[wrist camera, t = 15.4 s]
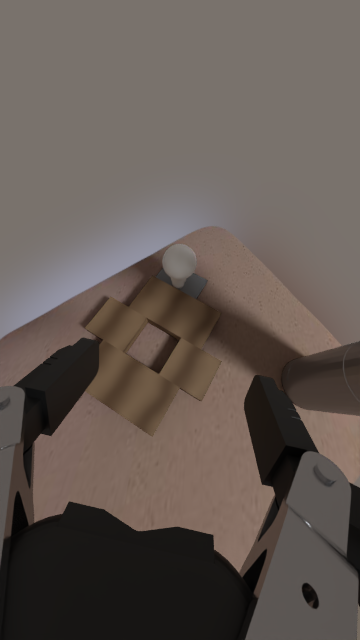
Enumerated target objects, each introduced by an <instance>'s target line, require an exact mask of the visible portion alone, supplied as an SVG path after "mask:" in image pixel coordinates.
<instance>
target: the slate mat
mask: <svg viewBox="0 0 360 640" xmlns="http://www.w3.org/2000/svg"><path fill="white" fill-rule="evenodd" d="M156 278H158V279H160V280H162V281H164V282H165V283H167V284H169V285H171V286H173V285H172V281H171V277H170V276H168V275H167V274H166V272H165V271H164V268H162V269H161V271H160V272H159V273H158V275H157V276H156ZM207 281H208V280H206V279H204V278H202V277H200V276H198V275H196V274H194V273H193V274H192V275H191V276H190V277H188V278H186V281H185V282H184V286H183V287H182V288H180V289H178V290H180V291H182V292H184V293H186V294H187V295H189V296H191V297H193V298H195V299H197V297H198V296H199V294H200V292H201V291H202V289H203V288H204V286H205V284H206V283H207ZM176 289H177V288H176Z"/></svg>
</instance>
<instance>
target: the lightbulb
mask: <svg viewBox="0 0 360 640" xmlns="http://www.w3.org/2000/svg"><path fill="white" fill-rule="evenodd" d="M162 265H163V268H164V271H165V272H166V274H167V275H168V276H170V277H171V281H172V285H173V287H175V288H177V289H180V288H182V287H183V286H184V282H185V281H186V278H188V277H190V276H191V275H192V274H193V272H194V271H195V269H196V265H197V258H196V255H195V253H194V251H193V250H192V249H191V248H190V247H188V246H187V245H184V244H175V245H173V246H171V247H169V248H168V249H167V250H166V251H165V253H164V255H163V259H162Z"/></svg>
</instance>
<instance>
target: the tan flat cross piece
mask: <svg viewBox="0 0 360 640" xmlns="http://www.w3.org/2000/svg"><path fill="white" fill-rule="evenodd" d="M220 315H221V313H220V312H219V311H217V310H215V309H213V308H211V307H209V306H208V305H206V304H204V303H202V302H200V301H198V300H197V299H195V298H193V297H191V296H189V295H187V294H186V293H184V292H182V291H180V290H178V289H176V288H175V287H173V286H171V285H169V284H167V283H165V282H164V281H162V280H160V279H158V278H156V277H154V276H153V275H152V277H151V278H150V279H149V281H148V282H147V283H146V285H145V286H144V287H143V289H142V290H141V291H140V292H139V294H138V295H137V296H136V298H135V299H134V300H133V302H132V303H131V304H130V306H129V307H128V306H126V305H124V304H122V303H121V302H119V301H117V300H116V299H114V298H112V297H110V298H109V299H108V301H107V302H106V303H105V304H104V305H103V307H102V308H101V309H100V310H99V312H98V313H97V314H96V315H95V316H94V318H93V319H92V320H91V321H90V322H89V324H88V325H87V326H86V327H85V329H87V330H88V331H89V332H90V333H92V334H94V335H95V336H97V337H98V338H100V339H102V340H103V341H102V342H101V344H100V345H99V369H98V373H97V375H96V377H95V378H94V380H93V381H92V382H91V384H90V385H89V386H88V388H87V389H86V390H85V391H86V392H87V393H89V394H90V395H92V396H93V397H95V398H96V399H98V400H99V401H100V402H102V403H103V404H105V405H106V406H108V407H109V408H111V409H112V410H114V411H115V412H117V413H118V414H120V415H121V416H123V417H124V418H125V419H127V420H128V421H130V422H131V423H133V424H134V425H136V426H137V427H139V428H140V429H142V430H143V431H145V432H146V433H148V434H149V435H150V436H152V437H153V435H154V433H155V431H156V429H157V428H158V426H159V424H160V422H161V420H162V419H163V417H164V415H165V413H166V412H167V410H168V408H169V406H170V404H171V403H172V401H173V399H174V397H175V395H176V394H177V392H178V390H179V388H180V389H182V390H183V391H185V392H186V393H188V394H190V395H191V396H193V397H194V398H196V399H198V400H199V401H202V400H203V398H204V396H205V394H206V392H207V390H208V388H209V386H210V384H211V382H212V380H213V378H214V376H215V374H216V372H217V370H218V368H219V366H220V364H221V362H222V361H220V360H218V359H217V358H215V357H213V356H211V355H210V354H208V353H206V352H205V351H203V350H201V349H202V347H203V345H204V343H205V342H206V340H207V338H208V336H209V335H210V333H211V331H212V329H213V327H214V326H215V324H216V322H217V320H218V318H219V317H220ZM148 322H149V323H150V324H152V325H154V326H155V327H157V328H159V329H160V330H162V331H164V332H166V333H167V334H169V335H171V336H172V337H174V338H176V339H178V340H179V342H178V344H177V346H176V347H175V349H174V350H173V352H172V354H171V355H170V357H169V359H168V360H167V362H166V364H165V365H164V367H163V368H162V370H161V372H160V373H159V374H157V373H156V372H154V371H153V370H151V369H149V368H148V367H146V366H145V365H143V364H141V363H140V362H138V361H137V360H135V359H133V358H132V357H130V356H129V355H127V354H126V353H127V351H128V350H129V349H130V347H131V346H132V344H133V343H134V341H135V340H136V339H137V337H138V336H139V334H140V333H141V331H142V330H143V329H144V327H145V326H146V324H147V323H148Z"/></svg>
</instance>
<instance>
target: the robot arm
mask: <svg viewBox="0 0 360 640" xmlns="http://www.w3.org/2000/svg"><path fill="white" fill-rule="evenodd" d="M98 369H99V342H98V341H96V340H91V339H86V338H81V339H80V340H79V341H78V342H77V343H75V344H74V345H73V346H70V345H69V346H66V347H64V348H62V349H59V350H58V351H56V352H55V353H54V354H53V355H51V356H50V358H48V359H46V360H45V361H44V362H43V364H40V365H39V366H38V367H37V368H35V369H34V370H33V371H32V372H30V373H29V374H28V375H27V376H25V377H24V378H23V379H22V380H20V381H19V382H18V383H17V384H15V385H14V386H4V387H0V640H357V613H358V604H359V606H360V488H359V487H357V486H355V485H353V484H351V483H349V482H348V480H347V478H346V476H345V475H344V474H343V472H342V471H341V470H340V469H339V468H338V467H337V466H336V465H335V464H334V463H333V462H332V461H331V460H329V459H328V458H326V457H325V456H323V455H321V454H319V452H318V450H317V448H316V446H315V445H314V443H313V441H312V439H311V437H310V435H309V433H308V431H307V429H306V428H305V426H304V424H303V422H302V420H300V419H301V418H300V416H299V414H298V412H296V409H295V407H294V405H293V403H294V404H296V405H297V406H299V407H301V408H303V409H306V410H314V411H322V412H329V413H338V414H347V415H356V416H360V341H359V342H355V343H351V344H348V345H344V346H341V347H337V348H334V349H330V350H326V351H323V352H319V353H316V354H312V355H309V356H305V357H302V358H298V359H295V360H292V361H290V362H289V363H288V364H287V365H286V366H285V368H284V370H283V373H282V385H283V388H284V391H285V393H286V394H287V395H286V394H285V393H284V392H283V391H280V390H278V388H277V386H276V384H275V381H274V380H273V378H269V377H264V376H260V375H255V377H254V378H253V381H252V383H251V385H250V388H249V390H248V393H247V395H246V397H245V402H244V410H245V415H246V419H247V423H248V428H249V432H250V436H251V440H252V445H253V449H254V453H255V457H256V462H257V466H258V470H259V474H260V479H261V483H262V485H267V486H271V487H273V489H274V492H275V496H274V497H273V499H272V501H271V503H270V506H269V508H268V511H267V513H266V515H265V518H264V520H263V523H262V525H261V528H260V530H259V532H258V535H257V537H256V540H255V542H254V544H253V547H252V549H251V551H250V553H249V554H248V556H247V558H246V560H245V562H244V564H243V566H242V568H241V570H240V572H239V573H238V571H237V570H236V569H235V568H234V567H233V565H232V564H231V563H230V562H229V561H228V560H227V559H226V558H224V557H223V556H222V555H221V554H220V553H219V552H217V551H216V550H214V540H213V535H211V534H206V533H202V532H198V531H194V530H189V529H185V528H181V527H171V528H164V529H156V530H149V531H136V530H134V529H132V528H131V527H129V526H128V525H126V524H125V523H123V522H122V521H120V520H119V519H117V518H116V517H114V516H113V515H111V514H110V513H108V512H107V511H105V510H104V509H99V508H95V507H91V506H86V505H82V504H78V503H73V502H69V503H68V505H67V507H66V509H65V511H64V513H63V514H59V515H55V516H51V517H47V518H45V519H42V520H40V521H37V522H35V523H34V505H33V476H34V450H35V443H34V441H35V440H36V439H37V437H38V436H39V435H40V434H45V435H49V436H52V434H53V433H54V432H55V430H56V429H57V428H58V426H59V425H60V424H61V422H62V421H63V420H64V418H65V417H66V416H67V414H68V413H69V412H70V410H71V409H72V408H73V406H74V405H75V404H76V402H77V401H78V400H79V398H80V397H81V396H82V394H83V393H84V392H85V390H86V389H87V388H88V386H89V385H90V384H91V382H92V381H93V380H94V378H95V377H96V375H97V373H98ZM292 402H293V403H292Z"/></svg>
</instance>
